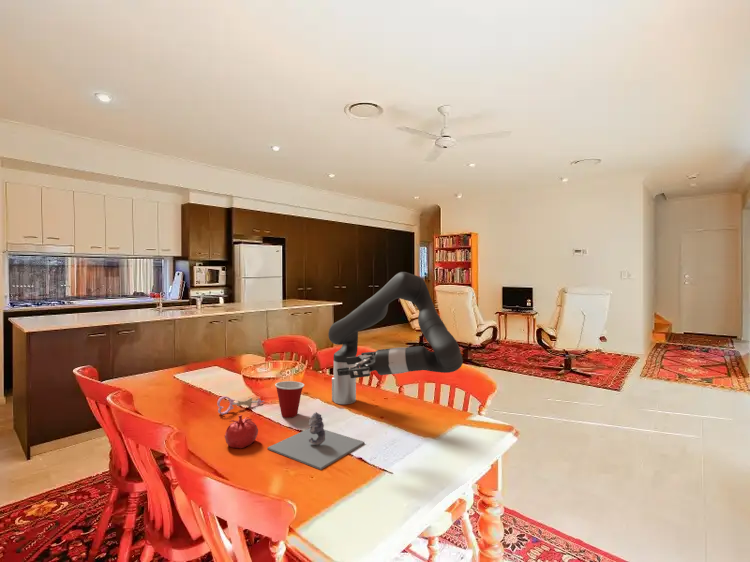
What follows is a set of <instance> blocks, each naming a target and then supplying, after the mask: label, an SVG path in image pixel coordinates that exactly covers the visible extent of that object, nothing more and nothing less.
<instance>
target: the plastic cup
mask: <svg viewBox="0 0 750 562" xmlns="http://www.w3.org/2000/svg"><path fill="white" fill-rule="evenodd" d="M274 385H275V387H276V391H277V393H276V394H277V399H278V404H279V409H280V414H281V416H282V418H286V419H289V418H294V417H295V418H296V416H298V413H299V406H300V403H301V402H300V401H301V396H302V392H303V390H304V387H305V383H303V382H300V381H294V380H293V381H292V380H288V381H287V380H286V381H285V380H284V381H280V382H276V383H275V384H274Z"/></svg>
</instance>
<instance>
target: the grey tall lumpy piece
mask: <svg viewBox="0 0 750 562" xmlns="http://www.w3.org/2000/svg"><path fill="white" fill-rule="evenodd" d="M308 420H309V421H308V426H309V428H310V429H309V428H308V429H309V430H310V433H311V434H317V435H318V438H317V439H316V440H314V439H313V438H310V439H309V442H311V443H312V444H315V445H320V444H322V443H323V442H324V441H325V431H324V430H325V429H324V427H325V424H324V422H323V417H322V414H320V413H318V412H314V413H313V414H311V417H310V418H309V419H308Z"/></svg>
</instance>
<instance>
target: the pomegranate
mask: <svg viewBox="0 0 750 562" xmlns="http://www.w3.org/2000/svg"><path fill="white" fill-rule="evenodd" d="M228 422H229V423H230V424H229V426H228V427H227V428H226V431H225V433H224V434H225V435H224V439H225V442H226V444H227V445H228V447H230V448H232V449H243V448H246V447H248V446H250V445H252V443H253V442H255V441H256V438H257V437H258V433H259V428H258V425H257V424H256V423H255V422H254V421H253V419H252V418H249V417H248V416H246V417H244V419H243V415H242V414H240V415H239V414H238V420H234V419H232V420H229V421H228ZM231 422H232V423H231Z"/></svg>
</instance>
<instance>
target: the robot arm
mask: <svg viewBox="0 0 750 562" xmlns="http://www.w3.org/2000/svg"><path fill="white" fill-rule="evenodd" d="M397 299H399V300H403V301H408V302H412V304H414V305H415V307H416V308H417V309H418V318H417V321H418V326H419V329H420V331H421V333H422V334H423V336H424V338H425V340H426V342H427V343H428V344H429V345H430V346H431V348H432V350H433V351H430V350H428V349H427V348H426V347H425V346H421V345H418V346H417V345H416V346H407V347H392V348H383V349H377V350H376V351H367V352H361V354H358V344H359V331H362V330H365V329H368V328H371V327H373V326H375V325H376V324H377V323H379V322H380V321H382V320H383V319H384V318H385V317H386V315H387V313H388V310H389V304H391V303H392V302H394V301H395V300H397ZM327 334H328V335H327V336H328V339H329V341H330V342H331V343H332V344H334V345H337V346H340V345H341V347H340V349H338V350H337V351H335V352H334V353H333V377H331V401H332V402H333V403H335V404H338V405H351V404H355V402H357V397H356V396H357V379H358V378H365V377H370V376H371V372H377V374H378V376H387V375H388V376H389V375H397V374H398V375H399V374H404V373H409V372H419V371H420V372H421V371H427V372H431V373H432V372H434V373H444V374H445V373H447V374H448V373H454V372H456V371H458V370H459V369H461V367H462V365H463V363H464V362H463V361H464V359H463V355H462V352H461V349H460V346H459V343H458V341H457V339H456V338H455V337H454V336H453V335H452V333H450V331H449V330H448V328H447V327H446V325H445V323H444V322H443V320H442V318H441V317H440V315H439V314H438V311H437V309H436V308H435V305H434V302H433V299H432V297H431V295H430V292H429V289H428V286H427V284H426V281H425V280H424V279H423V278H422V277H421V276H419V275H416V274H413V273H410V272H407V271H400V272H397V273H396V274H395V275H394V276H393V277H392V278H391V279H390V280H389V281H388V282H386V284H385V285H384V286H383V287H381V288H380V289H379V290H378V291H377V292H376V293H375V294H373V295H372V296H371V297H370V298H368V299H366V300H365V301H364V302H363V303H361V304H360V305H359V306H357V308H355V309H353V310H352V311H351V312H349V314H347V315H346V316H345V317H343V318H341V319H339V320H337V321H336V322H333V324H331V325H330V327H329V329H328V333H327ZM357 354H358V355H357Z"/></svg>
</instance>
